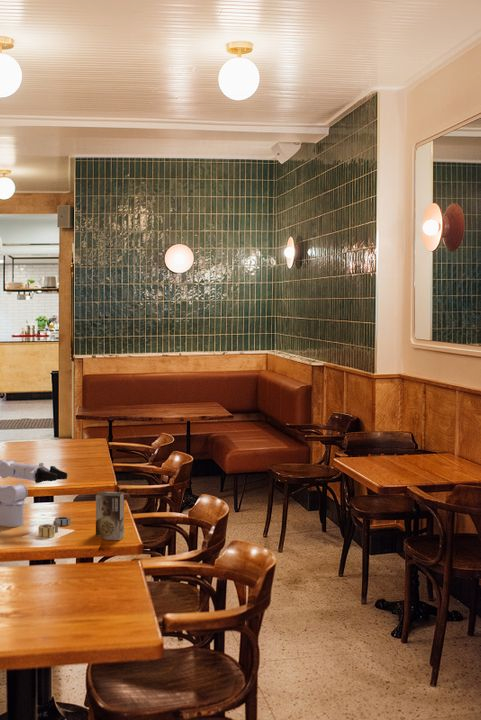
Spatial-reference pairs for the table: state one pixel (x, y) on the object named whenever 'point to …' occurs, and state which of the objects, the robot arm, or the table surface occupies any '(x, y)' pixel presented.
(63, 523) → the steel gear
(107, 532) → the coffee box
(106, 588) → the table surface
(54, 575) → the table surface
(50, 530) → the brass gear
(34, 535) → the gear board
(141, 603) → the table surface
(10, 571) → the table surface
